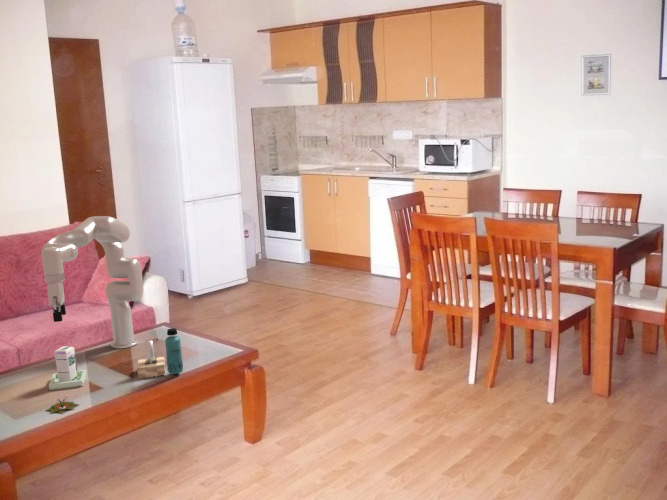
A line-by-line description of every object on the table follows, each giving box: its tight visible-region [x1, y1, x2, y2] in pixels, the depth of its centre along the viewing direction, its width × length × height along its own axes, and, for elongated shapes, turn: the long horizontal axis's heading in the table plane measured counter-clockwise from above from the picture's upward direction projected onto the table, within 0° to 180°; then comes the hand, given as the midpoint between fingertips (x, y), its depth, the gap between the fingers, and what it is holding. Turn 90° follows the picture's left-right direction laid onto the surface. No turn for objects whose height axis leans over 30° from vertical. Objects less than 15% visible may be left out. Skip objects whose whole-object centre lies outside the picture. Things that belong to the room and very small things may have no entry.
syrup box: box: [54, 345, 79, 383], centre depth 289 cm, size 6×6×14 cm
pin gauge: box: [144, 339, 155, 365], centre depth 296 cm, size 3×3×14 cm
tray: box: [48, 369, 87, 391], centre depth 290 cm, size 13×13×2 cm
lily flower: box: [46, 395, 81, 414], centre depth 265 cm, size 12×12×5 cm
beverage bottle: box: [164, 328, 184, 375], centre depth 292 cm, size 6×7×20 cm
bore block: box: [136, 356, 166, 379], centre depth 297 cm, size 11×11×4 cm
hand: (60, 318), depth 285 cm, fingers open, 9 cm apart
